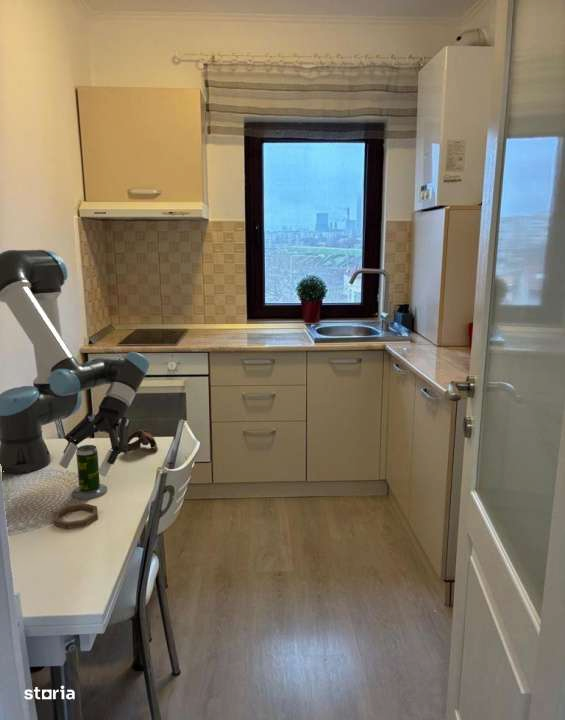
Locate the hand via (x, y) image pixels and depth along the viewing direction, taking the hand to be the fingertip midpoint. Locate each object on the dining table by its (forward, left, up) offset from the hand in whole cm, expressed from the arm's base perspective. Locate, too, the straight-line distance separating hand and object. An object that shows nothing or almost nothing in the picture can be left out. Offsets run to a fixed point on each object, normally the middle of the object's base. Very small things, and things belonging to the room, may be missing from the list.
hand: (81, 470), depth 145 cm
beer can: (0, +2, -7) cm, 7 cm away
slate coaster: (0, +2, -7) cm, 8 cm away
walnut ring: (+8, -11, -7) cm, 15 cm away
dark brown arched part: (-7, +34, -7) cm, 36 cm away
